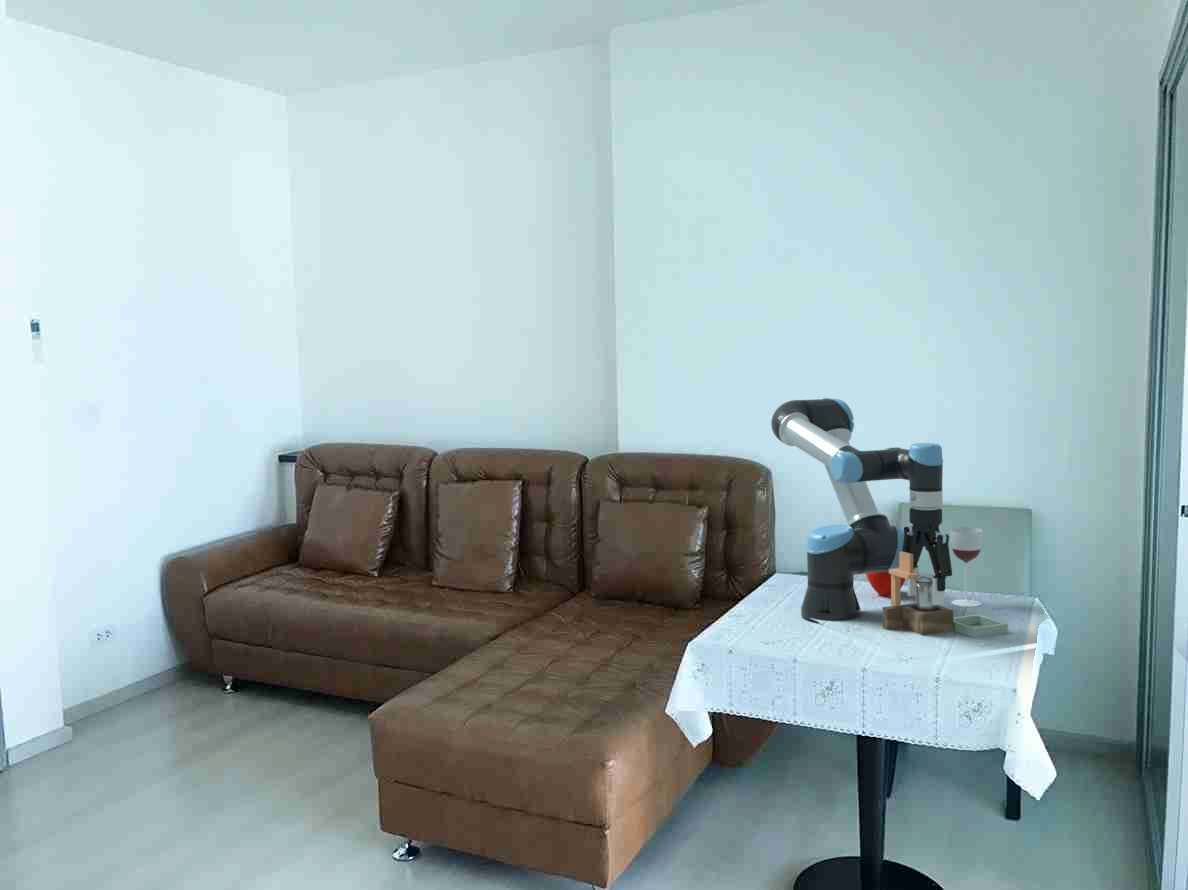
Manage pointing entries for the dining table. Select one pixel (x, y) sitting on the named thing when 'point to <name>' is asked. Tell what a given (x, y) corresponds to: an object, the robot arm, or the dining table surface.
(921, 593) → the pin
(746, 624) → the dining table surface
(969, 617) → the dish
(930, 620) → the block
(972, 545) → the wineglass
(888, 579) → the apple
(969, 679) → the dining table surface
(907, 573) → the keeper
